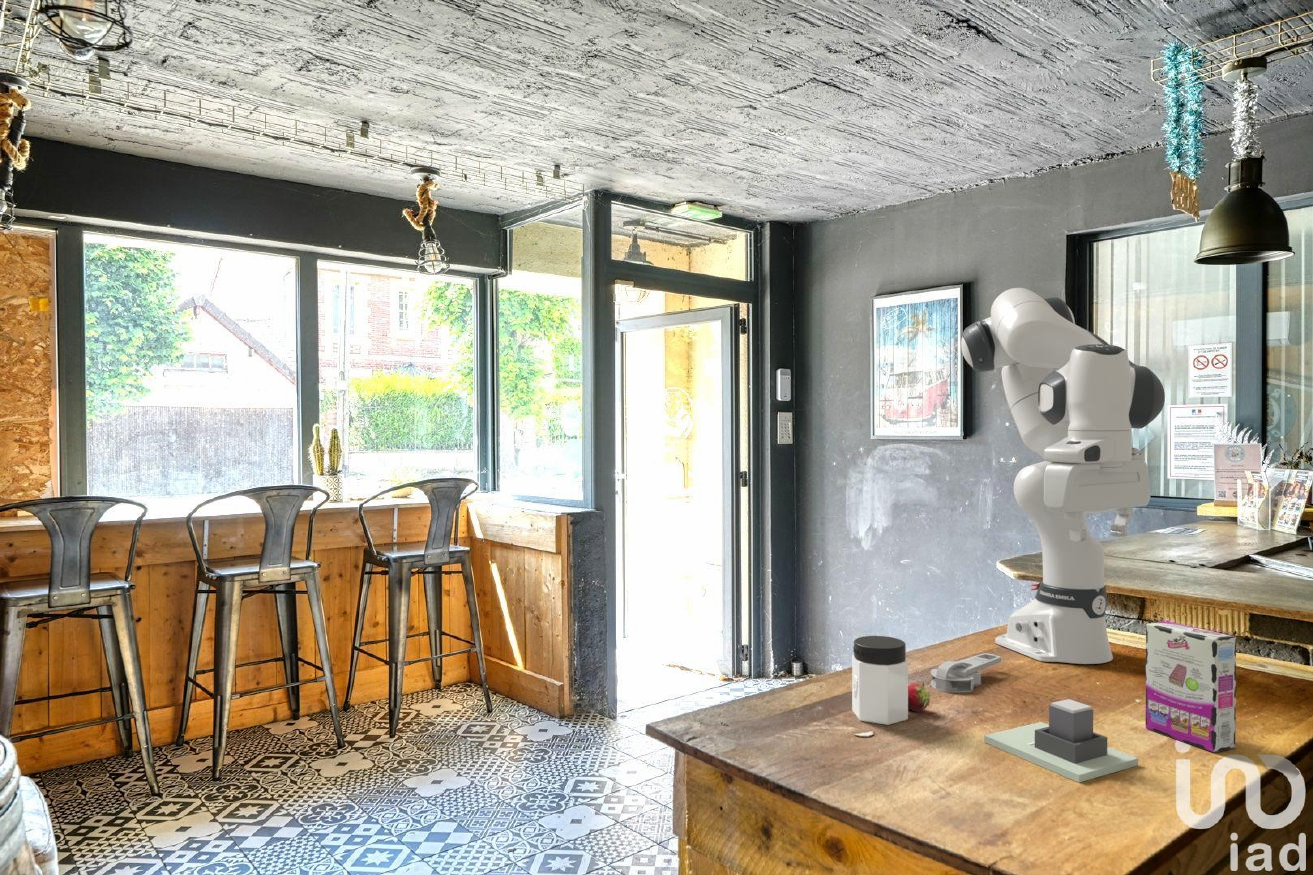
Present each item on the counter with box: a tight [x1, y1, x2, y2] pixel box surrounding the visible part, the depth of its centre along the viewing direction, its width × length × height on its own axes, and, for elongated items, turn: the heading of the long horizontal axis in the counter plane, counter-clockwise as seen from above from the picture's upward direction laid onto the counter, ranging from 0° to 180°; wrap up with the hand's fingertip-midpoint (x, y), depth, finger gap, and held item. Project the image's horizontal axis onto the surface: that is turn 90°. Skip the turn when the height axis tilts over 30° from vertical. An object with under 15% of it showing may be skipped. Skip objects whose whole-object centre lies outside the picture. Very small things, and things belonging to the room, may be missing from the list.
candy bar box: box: [1145, 620, 1237, 753], centre depth 130 cm, size 11×5×16 cm, turn 23°
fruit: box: [908, 682, 931, 712], centre depth 144 cm, size 4×6×5 cm
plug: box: [1048, 698, 1094, 743], centre depth 123 cm, size 4×4×6 cm
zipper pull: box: [930, 652, 1002, 694], centre depth 159 cm, size 8×18×4 cm, turn 130°
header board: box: [983, 721, 1139, 783], centre depth 125 cm, size 16×12×4 cm
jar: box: [851, 635, 909, 726], centre depth 141 cm, size 9×8×12 cm
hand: (1098, 538), depth 136 cm, fingers open, 8 cm apart
